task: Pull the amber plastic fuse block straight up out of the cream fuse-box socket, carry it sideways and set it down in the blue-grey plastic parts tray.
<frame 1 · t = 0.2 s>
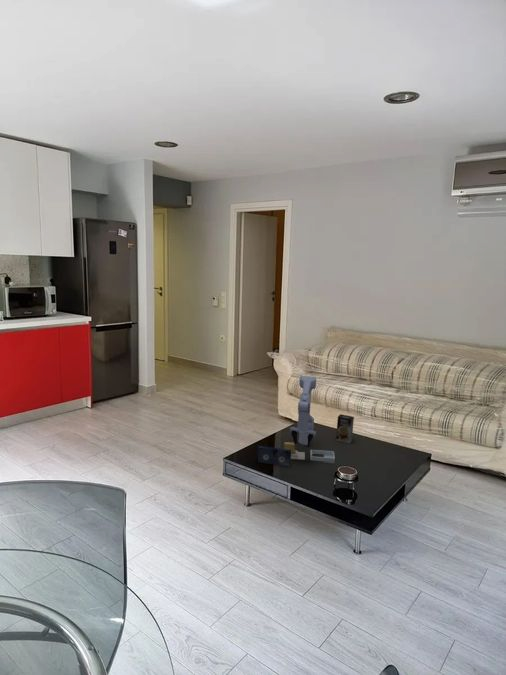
hand: (302, 445, 254), 10 cm above the table, fingers open, 7 cm apart
coffee box: (344, 440, 288), on the table
vhs cassette tape: (273, 465, 251), on the table
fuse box: (289, 456, 262), on the table
fuse: (289, 454, 262), point 1 cm above the table, touching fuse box
parts tray: (322, 458, 260), on the table
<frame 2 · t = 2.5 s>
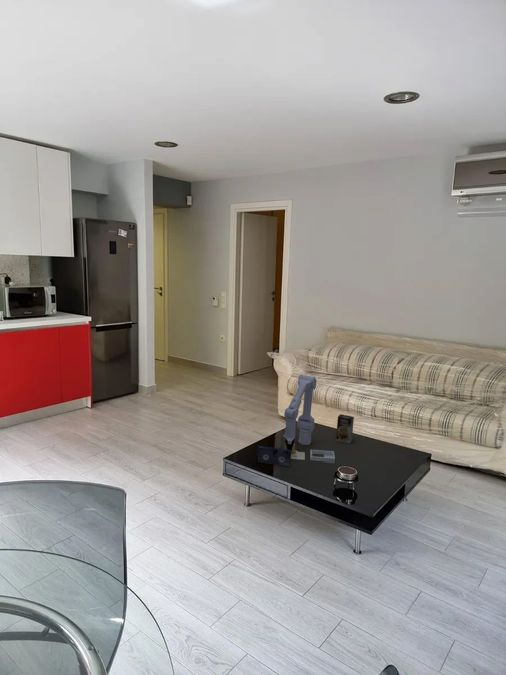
hand: (289, 450, 262), 3 cm above the table, fingers closed on fuse, 3 cm apart
fuse: (289, 454, 262), point 1 cm above the table, touching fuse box, gripper
everything else where it was.
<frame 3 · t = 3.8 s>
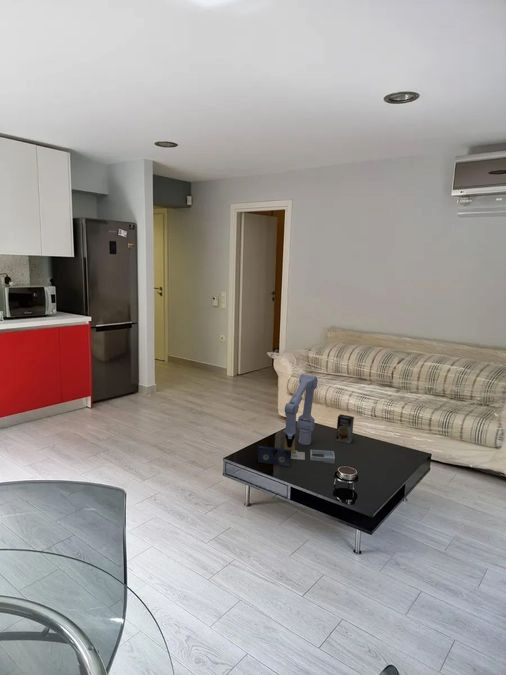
hand: (289, 446, 261), 6 cm above the table, fingers closed on fuse, 3 cm apart
fuse: (289, 449, 262), point 4 cm above the table, touching gripper
everything else where it was.
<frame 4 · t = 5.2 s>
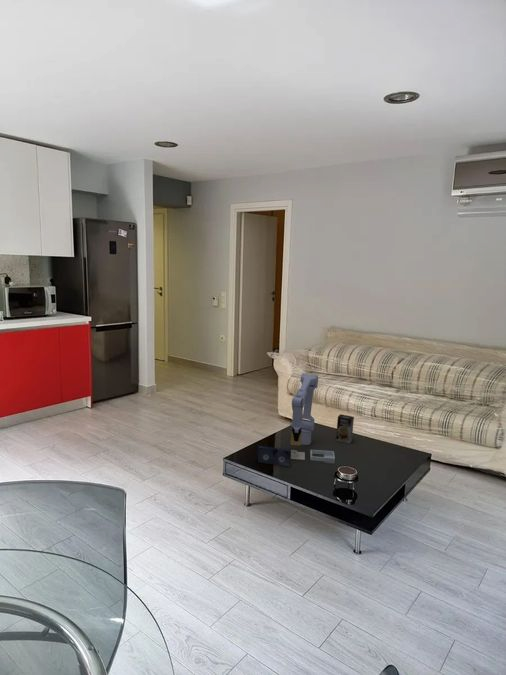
hand: (296, 439, 260), 10 cm above the table, fingers closed on fuse, 3 cm apart
fuse: (295, 444, 261), point 8 cm above the table, touching gripper
everything else where it was.
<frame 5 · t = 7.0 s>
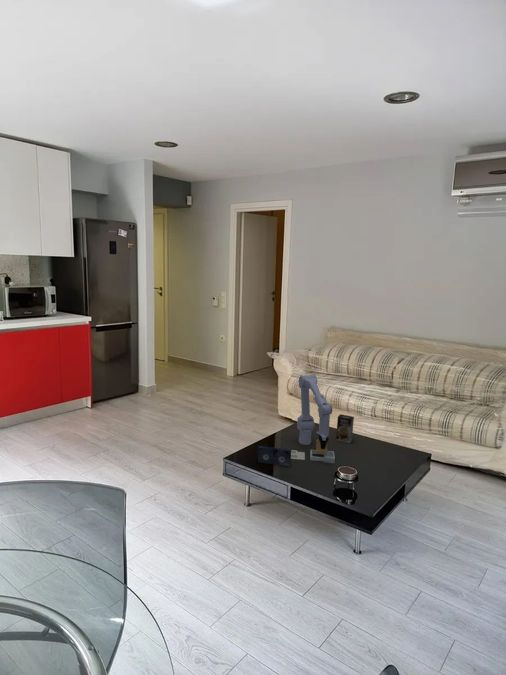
hand: (322, 447, 259), 7 cm above the table, fingers closed on fuse, 3 cm apart
fuse: (321, 452, 260), point 4 cm above the table, touching gripper
everything else where it was.
when the fingers open (4 cm above the table, at t = 8.2 s): fuse drops 1 cm, resting on parts tray.
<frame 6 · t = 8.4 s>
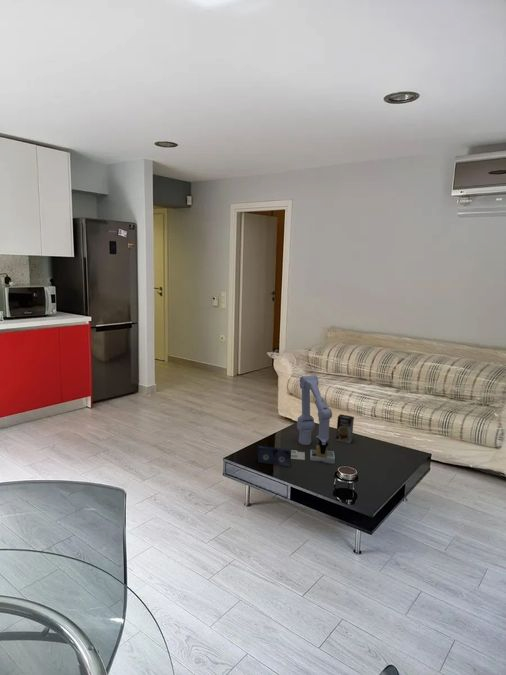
hand: (322, 451, 260), 4 cm above the table, fingers open, 5 cm apart
fuse: (321, 458, 260), resting on parts tray
everything else where it was.
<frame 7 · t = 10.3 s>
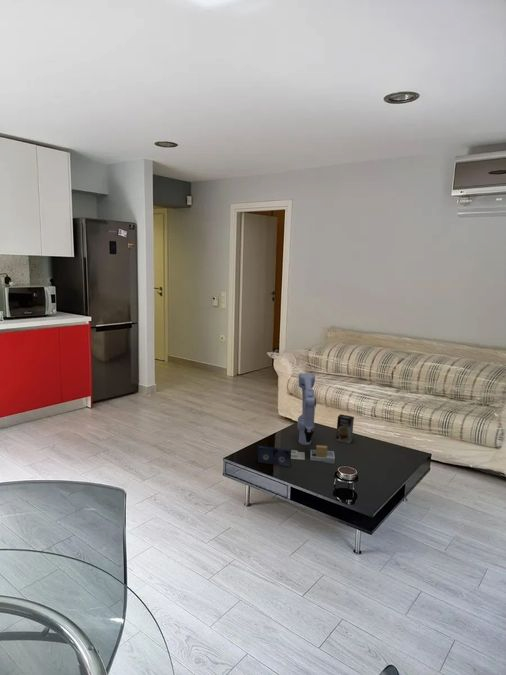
hand: (308, 439, 264), 9 cm above the table, fingers open, 7 cm apart
nothing on the table moved.
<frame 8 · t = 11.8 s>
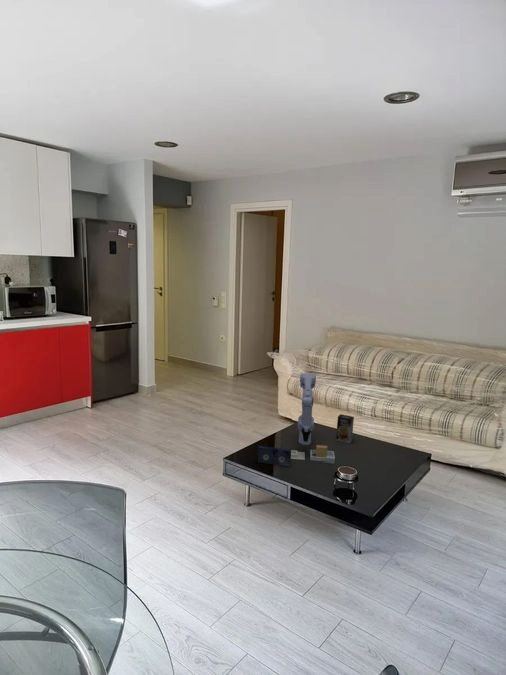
hand: (305, 438, 265), 9 cm above the table, fingers open, 7 cm apart
nothing on the table moved.
at the end: fuse inside the target area on the parts tray (0.6 cm from its centre), point 0.5 cm above the parts tray's base; the gripper is holding nothing; fuse moved 18.4 cm from its start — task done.
